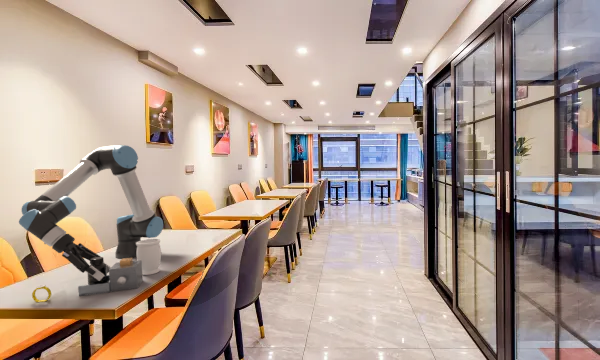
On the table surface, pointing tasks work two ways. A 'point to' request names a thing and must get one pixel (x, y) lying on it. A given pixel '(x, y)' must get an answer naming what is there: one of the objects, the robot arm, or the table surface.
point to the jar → (149, 255)
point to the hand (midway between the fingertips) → (105, 274)
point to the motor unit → (117, 278)
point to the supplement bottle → (101, 267)
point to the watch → (41, 288)
